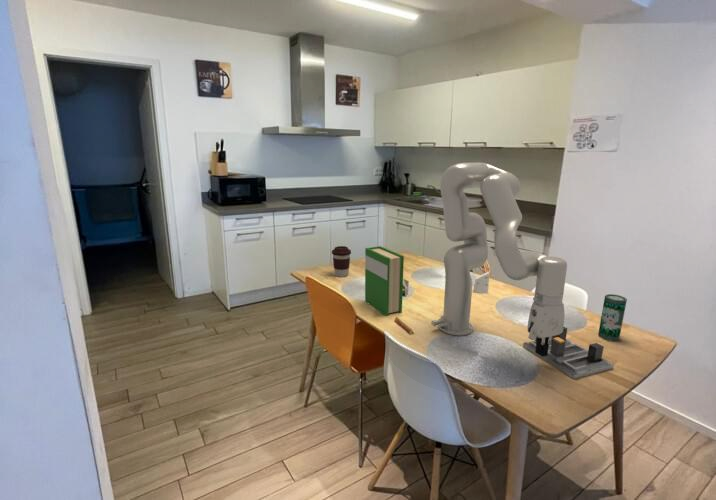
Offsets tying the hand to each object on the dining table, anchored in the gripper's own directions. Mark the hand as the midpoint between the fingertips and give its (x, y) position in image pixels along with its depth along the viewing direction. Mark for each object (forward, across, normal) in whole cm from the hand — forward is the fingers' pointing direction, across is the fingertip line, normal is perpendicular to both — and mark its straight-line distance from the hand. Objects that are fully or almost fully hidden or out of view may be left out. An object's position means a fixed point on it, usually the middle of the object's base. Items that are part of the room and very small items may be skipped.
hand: (541, 354), depth 119 cm
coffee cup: (+3, -30, +104) cm, 108 cm away
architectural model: (+4, -12, +68) cm, 70 cm away
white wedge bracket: (+3, +23, +58) cm, 63 cm away
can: (+4, +37, +5) cm, 37 cm away
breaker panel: (+4, +11, 0) cm, 11 cm away
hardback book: (+3, -27, +58) cm, 64 cm away
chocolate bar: (+4, -28, +38) cm, 47 cm away
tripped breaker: (+2, +7, 0) cm, 7 cm away
